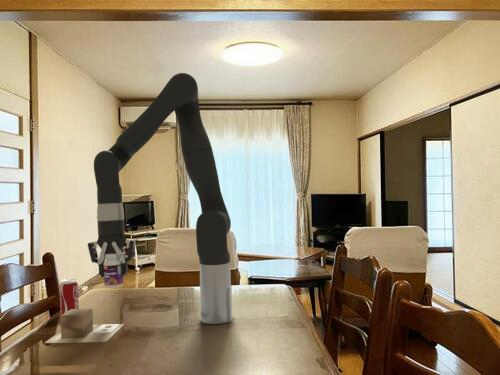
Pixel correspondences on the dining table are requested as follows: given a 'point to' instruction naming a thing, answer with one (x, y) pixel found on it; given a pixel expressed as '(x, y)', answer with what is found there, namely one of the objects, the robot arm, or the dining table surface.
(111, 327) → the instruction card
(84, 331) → the walnut cube
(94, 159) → the robot arm
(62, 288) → the soda can
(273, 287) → the dining table surface
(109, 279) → the pill bottle
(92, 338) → the board
